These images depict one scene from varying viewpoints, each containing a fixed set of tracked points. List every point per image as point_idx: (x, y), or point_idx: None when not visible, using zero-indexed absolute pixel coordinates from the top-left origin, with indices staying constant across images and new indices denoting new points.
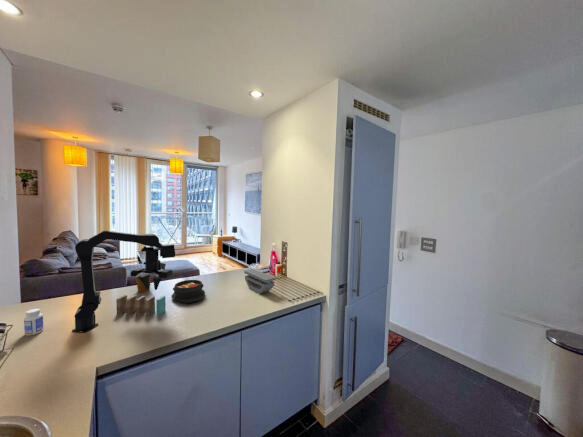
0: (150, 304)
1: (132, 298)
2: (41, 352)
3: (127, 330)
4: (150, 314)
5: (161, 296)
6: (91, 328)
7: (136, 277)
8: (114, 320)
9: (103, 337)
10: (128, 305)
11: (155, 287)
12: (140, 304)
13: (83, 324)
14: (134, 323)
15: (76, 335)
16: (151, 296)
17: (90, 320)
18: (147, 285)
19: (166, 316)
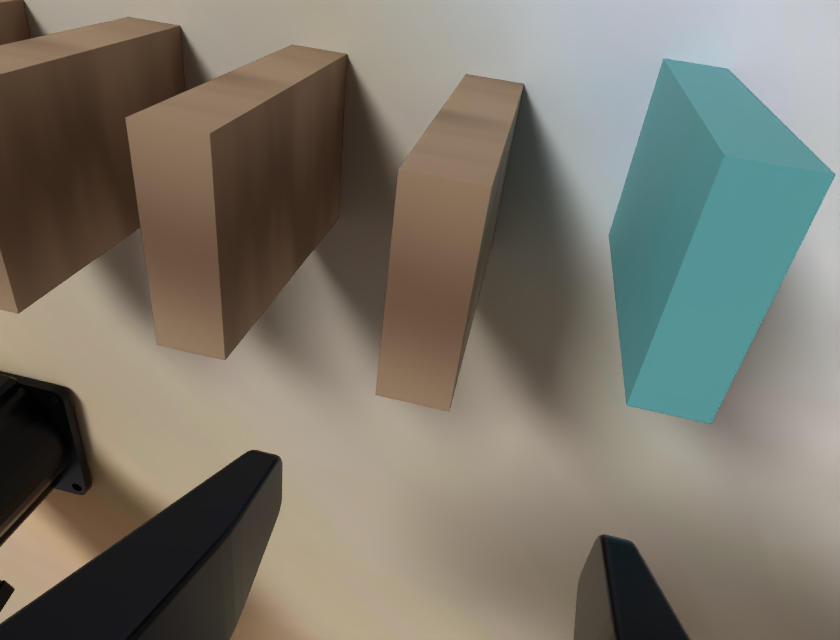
0: (478, 284)
1: (8, 209)
2: None
3: (426, 522)
4: (499, 206)
5: (708, 216)
6: (81, 450)
7: None
8: (138, 317)
9: (298, 572)
10: (92, 252)
11: None
12: (276, 253)
13: (15, 521)
14: (414, 414)
15: (71, 508)
16: (399, 188)
17: (16, 509)
18: (205, 637)
19: (793, 298)
